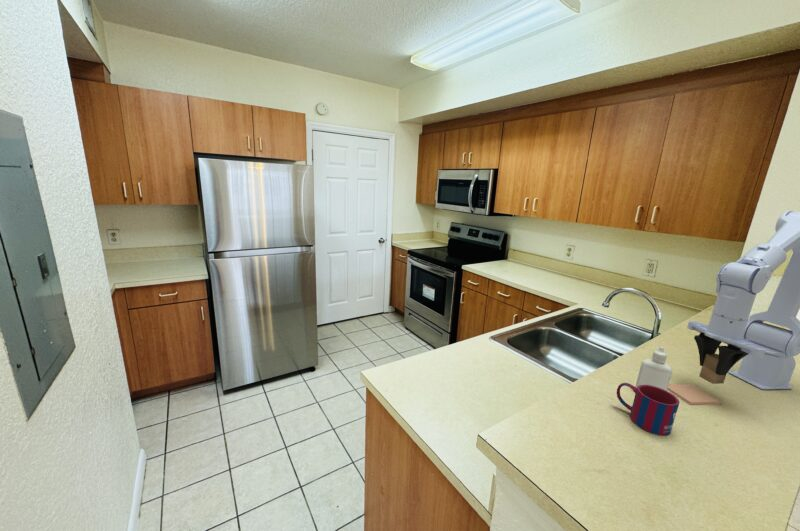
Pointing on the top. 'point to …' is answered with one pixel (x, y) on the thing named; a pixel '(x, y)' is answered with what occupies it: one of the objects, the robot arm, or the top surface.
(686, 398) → the tile
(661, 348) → the eye dropper bottle
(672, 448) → the top surface
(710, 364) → the block
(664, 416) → the mug
